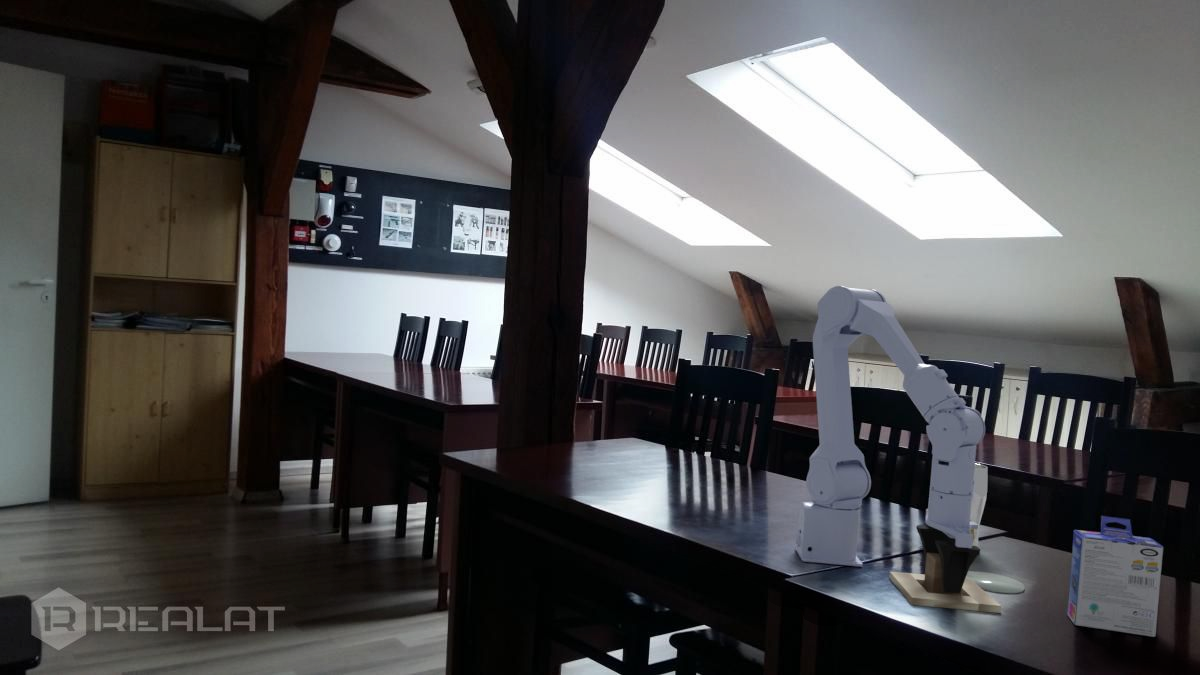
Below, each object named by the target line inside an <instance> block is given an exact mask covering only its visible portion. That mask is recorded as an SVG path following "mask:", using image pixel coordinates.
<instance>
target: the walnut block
mask: <svg viewBox="0 0 1200 675" xmlns="http://www.w3.org/2000/svg"><path fill="white" fill-rule="evenodd" d="M924 575H925V580H924V587H923V588H924V589H925V590H926V591H927V592H928V593H938V594H949V595H960V596H962V595H961V593H962V589H961V592H960V593H959V594H958V593H947V592H945V591H944V590H943V584H942V566H941V560H940V555H939V554H938V553H927V556H926V565H925V570H924Z"/></svg>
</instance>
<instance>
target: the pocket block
mask: <svg viewBox="0 0 1200 675" xmlns="http://www.w3.org/2000/svg"><path fill="white" fill-rule="evenodd" d="M888 579H889V580H890V581H891V582H892V583H893V584H894V585H895V587H896V588H897V589H898V590H899V591H900V593H901V594H902V595H903V596H904V597H905V599H907V601H908V602H909V603H910V605H912V606H923V607H932V608H933V607H934V608H943V609H952V610H953V609H954V610H955V609H956V610H963V611H965V610H966V611H975V612H976V611H977V612H985V613H995V614H996V613H997V614H998V613H999V614H1001V613H1002V605H1001V604H1000V603H998V601H996V599H994V598H993V597H992V596H990V594H988V593H987V592H986V590H983V589H981V588H980V587H979V586H978V585H977V584H976V583H975V582H974V581H972V580H971V579H969V578H965V581H964V584H963V587H962V593H961V596H960V595H949V594H938V593H928V592H927V591H926V590H925V589H924V580H925V573H924V574H922V573H910V572H901V571H890V570H889V574H888Z"/></svg>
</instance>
